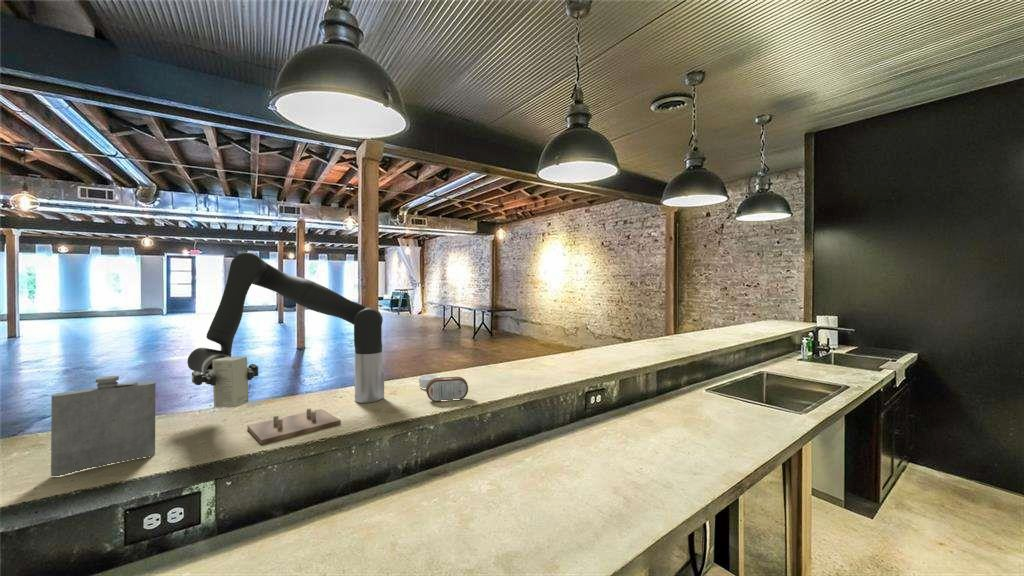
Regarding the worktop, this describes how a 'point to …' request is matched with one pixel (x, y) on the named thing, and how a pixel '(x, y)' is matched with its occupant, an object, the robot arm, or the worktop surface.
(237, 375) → the skincare box
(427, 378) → the ramekin
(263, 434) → the pin tray
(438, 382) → the tin
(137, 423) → the hip flask
